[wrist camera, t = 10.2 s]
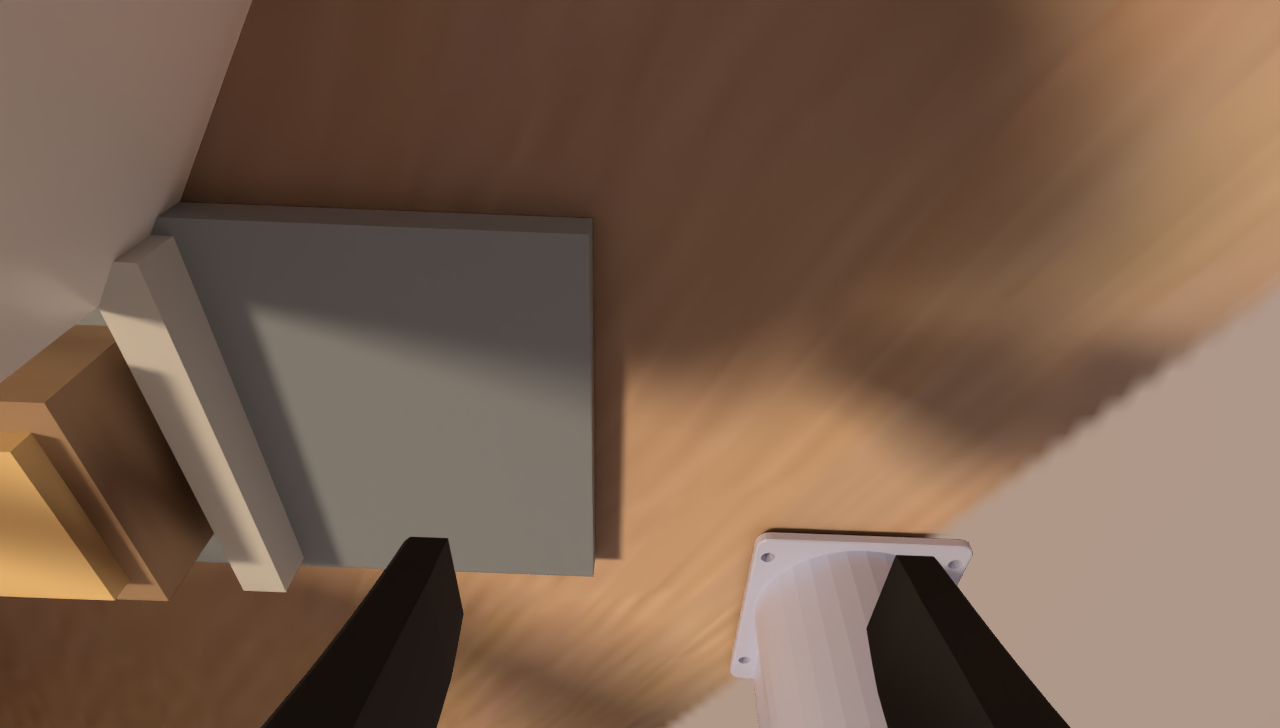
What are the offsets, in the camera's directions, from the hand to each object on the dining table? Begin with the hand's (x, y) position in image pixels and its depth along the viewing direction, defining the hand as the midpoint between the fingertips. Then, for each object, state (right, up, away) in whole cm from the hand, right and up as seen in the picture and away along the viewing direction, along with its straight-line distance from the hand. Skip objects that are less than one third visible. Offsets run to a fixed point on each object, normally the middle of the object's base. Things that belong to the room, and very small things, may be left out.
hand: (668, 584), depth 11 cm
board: (-12, +2, +11) cm, 17 cm away
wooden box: (-17, +2, +10) cm, 20 cm away
